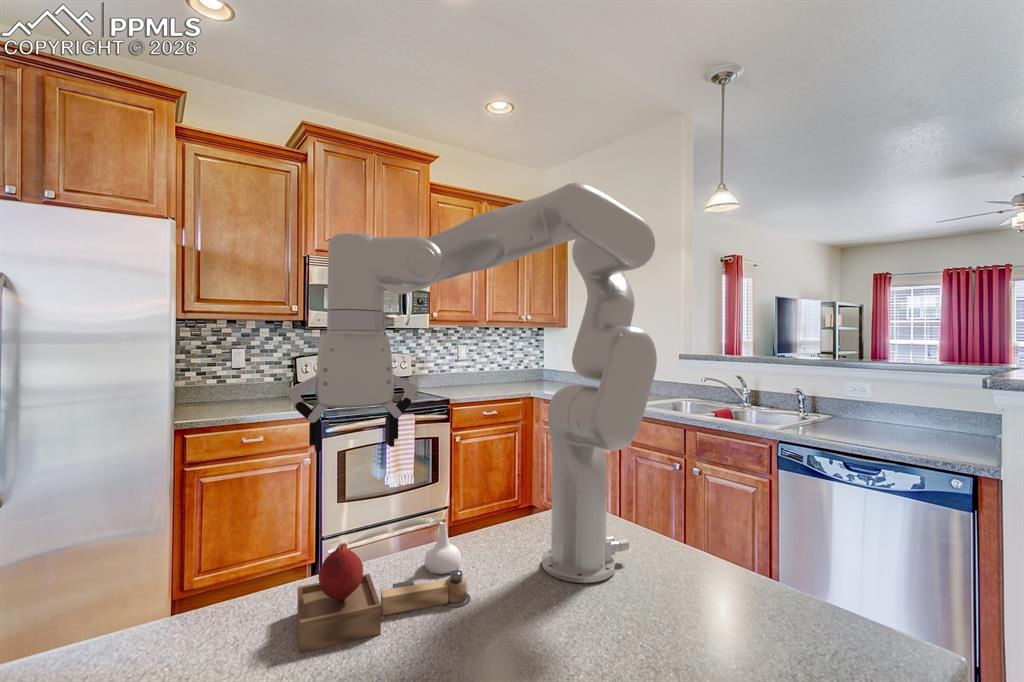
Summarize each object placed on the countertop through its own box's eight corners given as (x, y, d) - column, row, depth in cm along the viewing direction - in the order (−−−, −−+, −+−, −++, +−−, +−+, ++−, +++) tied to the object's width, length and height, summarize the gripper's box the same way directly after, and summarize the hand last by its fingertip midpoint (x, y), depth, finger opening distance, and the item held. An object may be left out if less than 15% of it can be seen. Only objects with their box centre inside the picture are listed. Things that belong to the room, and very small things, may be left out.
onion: (348, 614, 66) (349, 554, 66) (309, 609, 67) (310, 549, 67) (370, 592, 72) (370, 537, 72) (333, 588, 73) (334, 533, 73)
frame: (463, 588, 80) (463, 562, 79) (474, 603, 75) (474, 576, 75) (392, 602, 75) (392, 575, 75) (399, 620, 70) (399, 591, 70)
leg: (463, 590, 78) (463, 574, 78) (469, 600, 75) (469, 584, 75) (380, 605, 73) (380, 588, 73) (383, 617, 70) (383, 599, 70)
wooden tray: (369, 598, 76) (369, 573, 76) (380, 634, 67) (381, 605, 67) (297, 612, 72) (297, 586, 72) (299, 652, 63) (299, 622, 63)
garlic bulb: (467, 568, 88) (470, 521, 88) (446, 579, 82) (449, 529, 83) (438, 560, 91) (441, 515, 92) (416, 570, 85) (419, 522, 86)
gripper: (411, 326, 77) (410, 438, 77) (287, 323, 69) (286, 447, 69) (423, 325, 70) (422, 448, 70) (288, 322, 63) (286, 459, 63)
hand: (354, 447), depth 70 cm, fingers open, 9 cm apart
